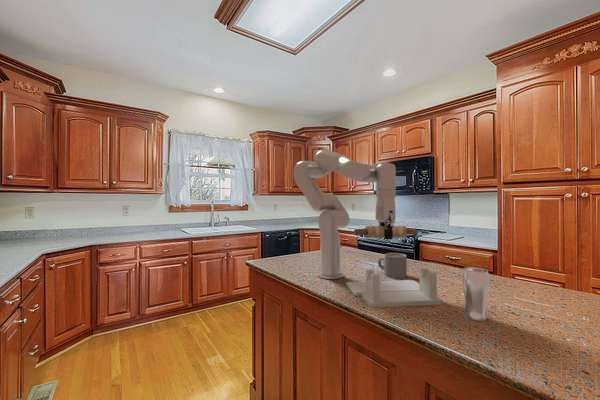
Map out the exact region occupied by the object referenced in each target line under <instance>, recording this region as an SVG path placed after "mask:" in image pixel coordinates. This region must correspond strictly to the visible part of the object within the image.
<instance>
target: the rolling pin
mask: <svg viewBox="0 0 600 400" xmlns="http://www.w3.org/2000/svg"><path fill="white" fill-rule="evenodd" d="M384 229H385V226H379V225H367V226H365V228H361V229H360V228H357V229H354V230H353V235H354V236H365V238H367V239H378V238H379V239H384ZM417 234H418V229H417V228H416V227H415V228H407V226H406V225H393V239H394V238H395V239H396V238H406V237H407V236H408V235H417Z"/></svg>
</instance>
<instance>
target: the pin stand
mask: <svg viewBox="0 0 600 400" xmlns="http://www.w3.org/2000/svg"><path fill="white" fill-rule="evenodd" d="M418 269H419V270H418V271H419V273H418V274H419V278H418V279H419V280H418V281H419V282H418V283H419V291H400V292H380V281H381V279H380V278H381V277H380V276H381V275H380V274H379V273H377V272H376V273H375V270H374V269H373V268H372V269H371V268H370V269H369V268H367V269H365V282H366V293H362V296H361V298H362V299H363V301H364V302H365V303H366V304H367V305H368V306H369V308H386V307H387V308H388V307H389V308H390V307H407V306H410V307H411V306H430V305H431V306H432V305H433V306H434V305H436V306H437V305H443V299H442V298H440V297H439V296H438V295H437V293H438V291H437V290H438V288H437V286H438V285H437V284H438V282H437V281H438V279H437V278H438V277H437V276H438V274H437V272H436V271H429V268H427V267H419V268H418Z"/></svg>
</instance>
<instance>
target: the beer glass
mask: <svg viewBox="0 0 600 400" xmlns="http://www.w3.org/2000/svg"><path fill="white" fill-rule="evenodd" d="M462 271H463V273H462V289H463V294H464V299H465V310H464V317H465V318H466V319H468V320H471V321H475V322H486V321H488V315H487V309H486V308H487V301H488V296H489V291H490V277H489V270H487V269H485V268H481V267H475V266H472V267H471V266H469V267H467V266H466V267H463V270H462Z"/></svg>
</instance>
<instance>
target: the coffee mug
mask: <svg viewBox="0 0 600 400" xmlns="http://www.w3.org/2000/svg"><path fill="white" fill-rule="evenodd" d="M407 258H408V257H407V254H405V253H400V252H385V253H384V256H380V257H378V260H377V265H378V267H379V268H380V269H381V270H383V271H384V276H385V277H387V278H389V279H397V280H401V279H402V280H403V279H406V278H407V274H408V273H407V271H408V270H407V263H408V262H407ZM382 261H383V265H382Z"/></svg>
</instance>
